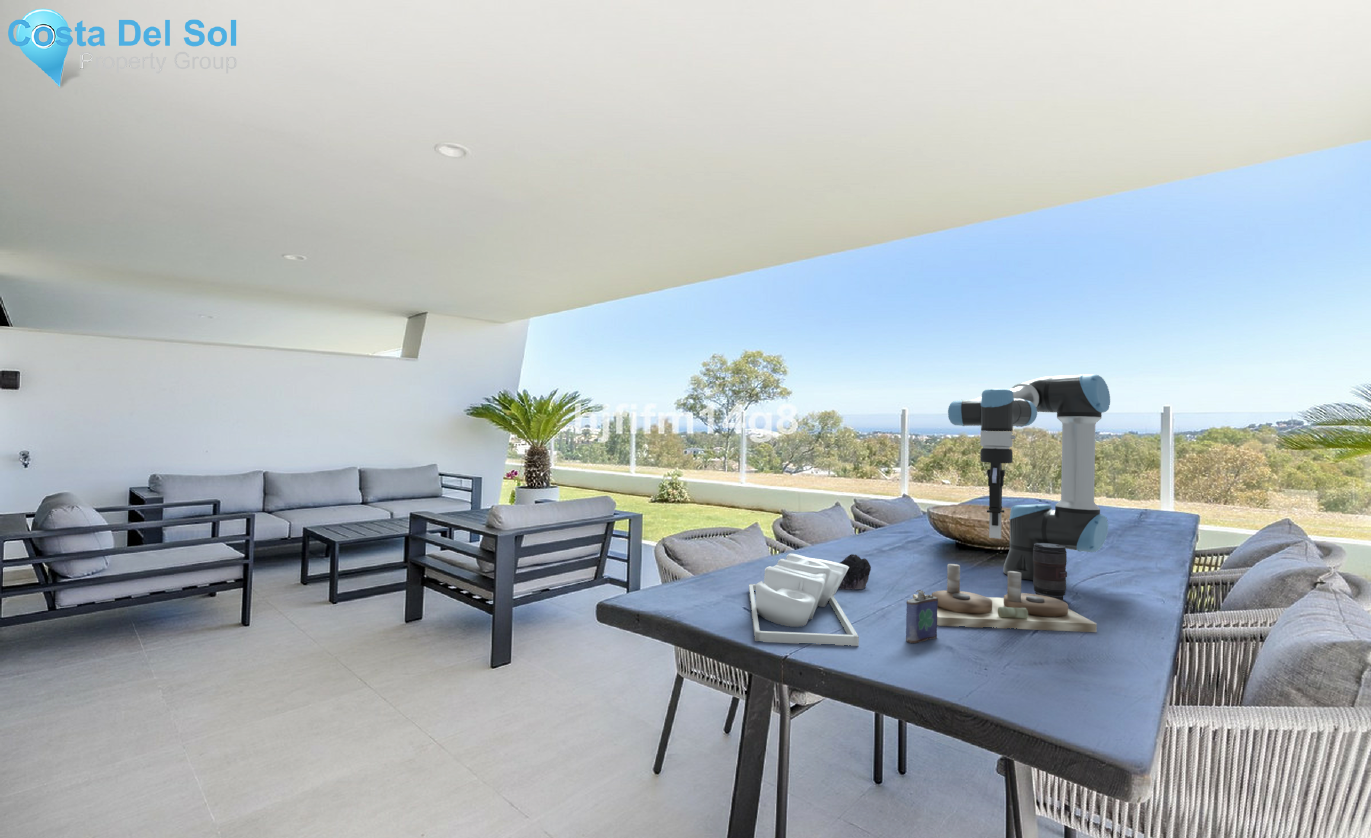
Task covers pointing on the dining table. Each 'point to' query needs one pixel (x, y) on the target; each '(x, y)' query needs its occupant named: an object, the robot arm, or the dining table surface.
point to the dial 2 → (1032, 599)
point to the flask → (921, 618)
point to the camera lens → (1049, 570)
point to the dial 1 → (960, 595)
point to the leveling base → (1014, 619)
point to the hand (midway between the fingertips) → (995, 537)
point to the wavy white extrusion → (797, 589)
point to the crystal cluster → (855, 573)
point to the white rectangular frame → (805, 637)
